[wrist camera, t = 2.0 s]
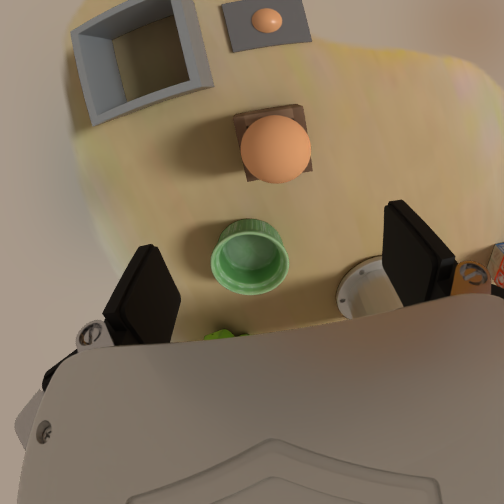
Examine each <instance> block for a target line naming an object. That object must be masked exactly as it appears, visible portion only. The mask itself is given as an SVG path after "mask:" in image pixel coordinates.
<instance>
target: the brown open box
mask: <svg viewBox="0 0 504 504" xmlns="http://www.w3.org/2000/svg"><path fill="white" fill-rule="evenodd" d="M271 115H280V116H285V117H288V118H290V119H292V120H294V121H296V122H297V123H298V124H300V125H301V126H302V127H303V129H304V130H305V131H306V133H307V128H306V121H305V115H304V109H303V106H300V105H298V104H293V105H286V106H279V107H273V108H267V109H261V110H255V111H250V112H245V113H240V114H236V115H235V116H234V117H233V121H234V125H235V130H236V134H237V138H238V143H239V147H240V151H241V141H242V138H243V135H244V133H245V132H246V130H247V129H248V128H249V127H248V126H250V125H251V124H252V123H254V122H255V121H256V120H258V119H260V118H263V117H266V116H271ZM307 135H308V134H307ZM243 165H244V162H243ZM244 169H245V173H246V178H247V182H249V181H254V180H260V179H258V178H256V177H255V176H254V175H252V174H251V173H250V172H249V170H248V169H247V168H246V166H245V165H244ZM309 171H313V170H312V162H311V156H310V160H309V163H308V165H307V167H306V168H305V170H304V171H303V172H309ZM303 172H302V173H303Z"/></svg>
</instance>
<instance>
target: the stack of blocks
mask: <svg viewBox="0 0 504 504" xmlns="http://www.w3.org/2000/svg"><path fill="white" fill-rule="evenodd" d="M487 270H488V271H489V273H490V275H491V278H492V279H493V280H494V282H495V283H496V285H497V286H499V287H501V288H504V243H499V244H495V246H494V249H493V252H492V255H491V258H490V261H489V263H488V266H487Z"/></svg>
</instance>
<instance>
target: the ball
mask: <svg viewBox="0 0 504 504" xmlns="http://www.w3.org/2000/svg"><path fill="white" fill-rule="evenodd" d="M310 156H311V144H310V140H309V137H308V135H307V133H306V131H305V130H304V129H303V127H302V126H301V125H300V124H298V123H297V122H296V121H294V120H292V119H290V118H288V117H285V116H280V115H271V116H266V117H263V118H260V119H258V120H256V121H255V122H254V123H252V124H251V125H250V126H249V128H248V129H247V130H246V132H245V133H244V135H243V138H242V141H241V157H242V160H243V162H244V165H245V166H246V168H247V169H248V170H249V172H250V173H251V174H252V175H254V176H255V177H256V178H258V179H260V180H262V181H265V182H268V183H284V182H288V181H291V180H293V179H295V178H296V177H298V176H299V175H300V174H301V173H302V172H303V171H304V170H305V168H306V167H307V165H308V163H309V160H310Z"/></svg>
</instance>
